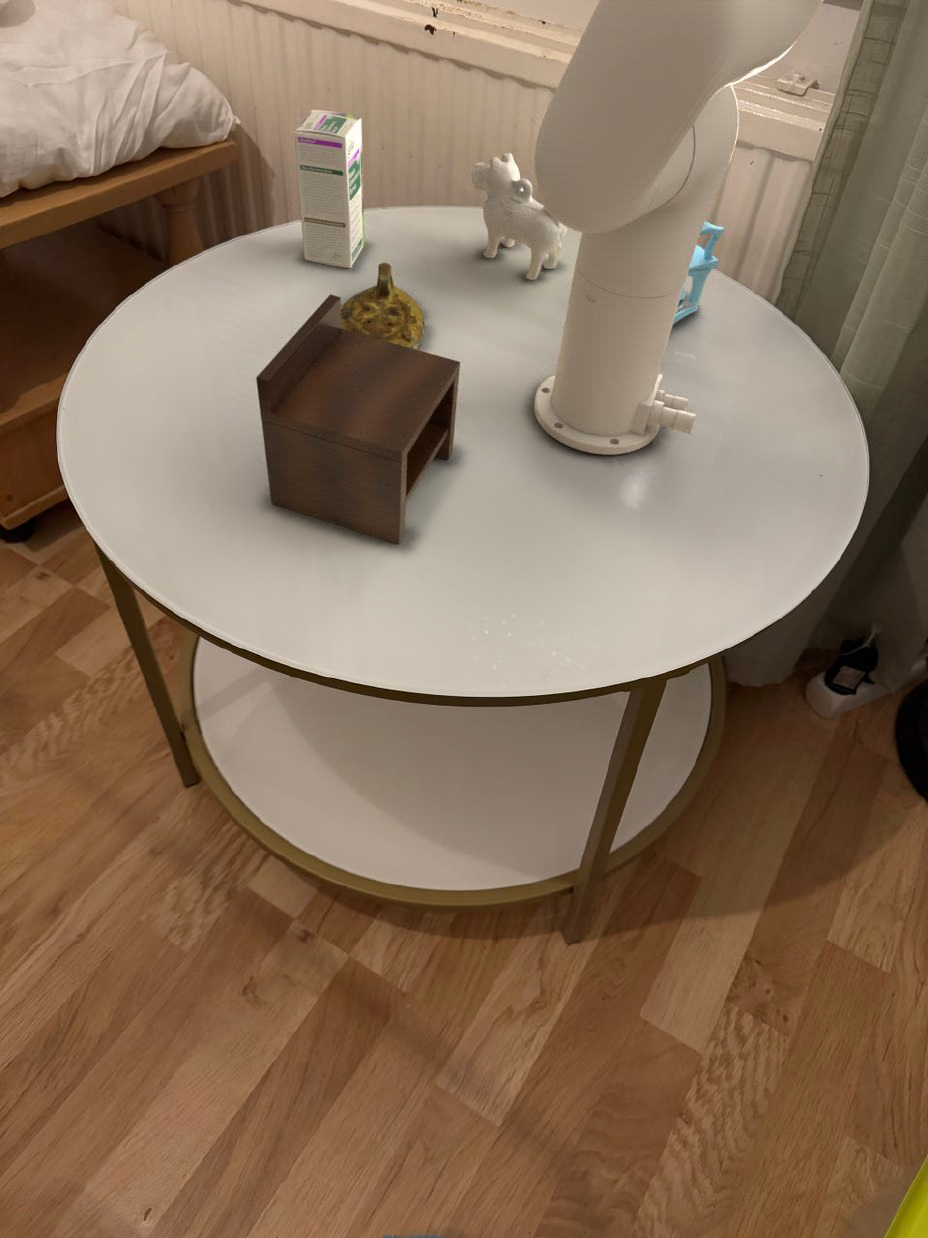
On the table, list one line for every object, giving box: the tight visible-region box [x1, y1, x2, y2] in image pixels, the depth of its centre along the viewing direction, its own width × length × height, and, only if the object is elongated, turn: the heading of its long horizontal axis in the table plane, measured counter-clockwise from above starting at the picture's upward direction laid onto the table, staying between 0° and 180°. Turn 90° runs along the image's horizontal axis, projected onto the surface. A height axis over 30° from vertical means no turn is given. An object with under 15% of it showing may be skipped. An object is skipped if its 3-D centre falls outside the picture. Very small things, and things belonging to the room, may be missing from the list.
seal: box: [341, 262, 426, 350], centre depth 95 cm, size 9×5×15 cm
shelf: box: [255, 294, 461, 545], centre depth 76 cm, size 12×13×13 cm
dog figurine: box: [471, 152, 568, 281], centre depth 104 cm, size 5×13×11 cm, turn 50°
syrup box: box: [293, 108, 366, 269], centre depth 100 cm, size 6×6×14 cm
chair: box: [673, 220, 725, 325], centre depth 98 cm, size 8×8×12 cm
